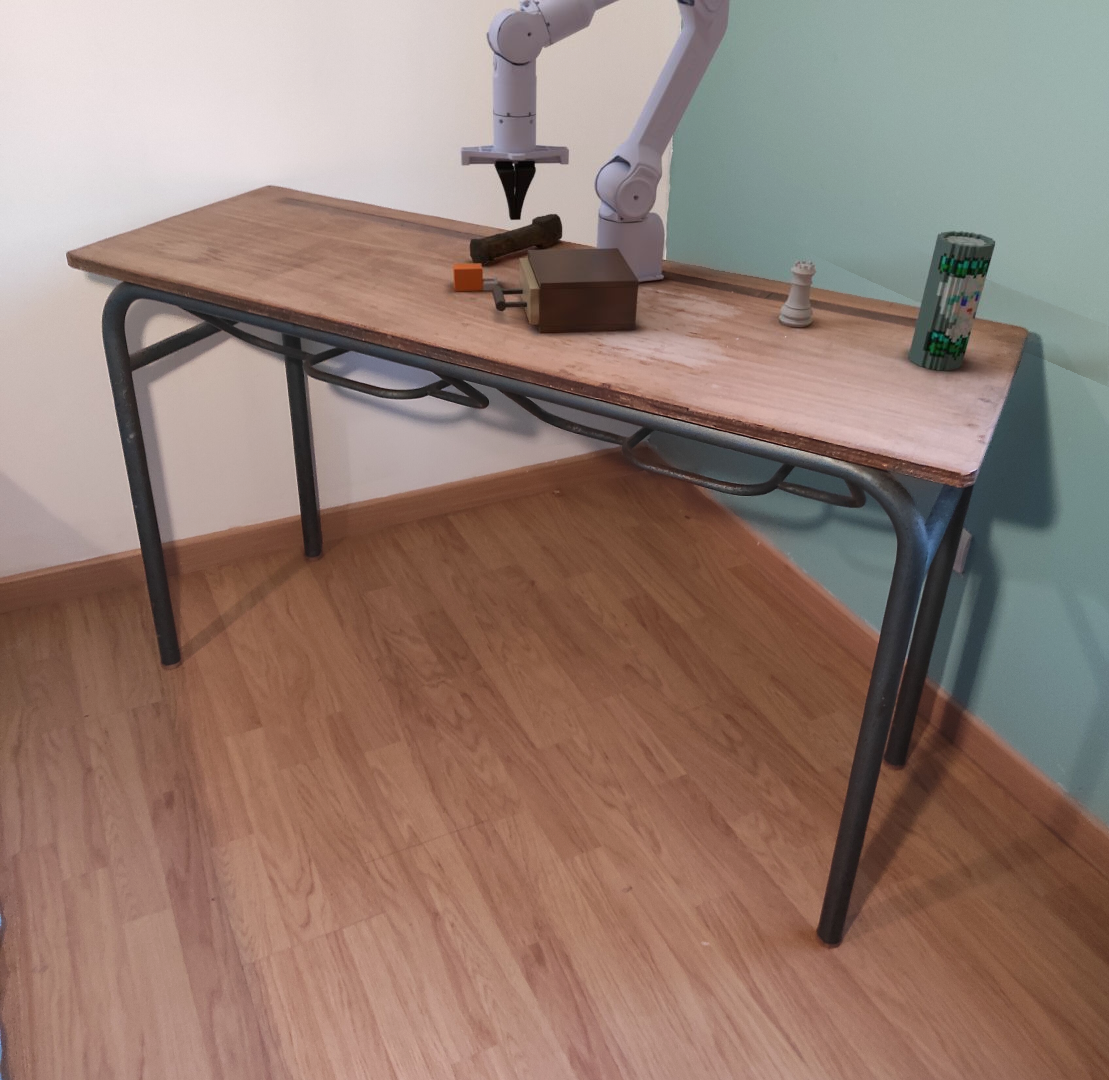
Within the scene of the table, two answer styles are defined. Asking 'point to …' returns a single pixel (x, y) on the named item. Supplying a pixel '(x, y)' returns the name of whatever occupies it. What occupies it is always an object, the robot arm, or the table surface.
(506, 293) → the drawer
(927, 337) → the can
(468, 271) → the block
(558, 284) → the cabinet
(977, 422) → the table surface
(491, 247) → the hand tool
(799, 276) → the rook chess piece
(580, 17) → the robot arm
